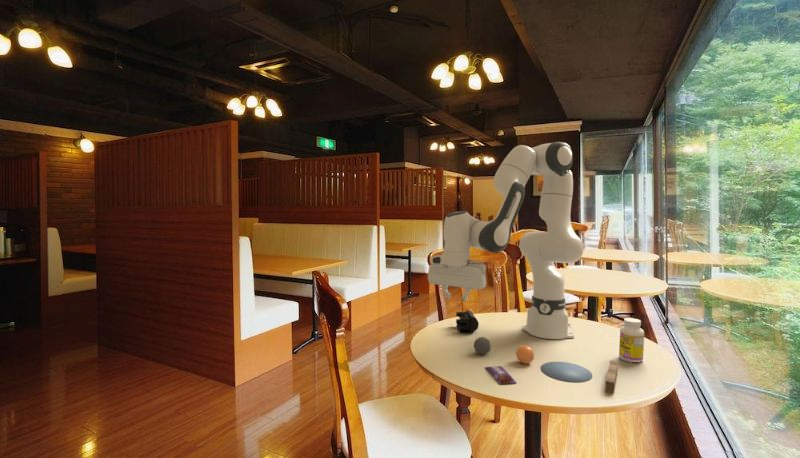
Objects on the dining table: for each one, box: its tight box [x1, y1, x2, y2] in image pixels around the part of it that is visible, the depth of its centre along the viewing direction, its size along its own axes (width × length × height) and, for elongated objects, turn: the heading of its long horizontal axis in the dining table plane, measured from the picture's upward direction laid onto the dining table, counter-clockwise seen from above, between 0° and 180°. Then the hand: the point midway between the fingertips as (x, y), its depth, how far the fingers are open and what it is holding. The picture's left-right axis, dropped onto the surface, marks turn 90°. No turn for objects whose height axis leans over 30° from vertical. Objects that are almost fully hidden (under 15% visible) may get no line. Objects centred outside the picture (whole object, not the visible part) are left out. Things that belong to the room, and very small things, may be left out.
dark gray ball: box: [473, 336, 492, 356], centre depth 131 cm, size 6×6×6 cm
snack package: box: [484, 365, 517, 385], centre depth 114 cm, size 12×2×5 cm
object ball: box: [515, 344, 535, 365], centre depth 123 cm, size 6×6×6 cm
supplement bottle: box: [618, 317, 645, 363], centre depth 126 cm, size 7×7×13 cm
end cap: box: [455, 309, 480, 335], centre depth 156 cm, size 10×7×7 cm
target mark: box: [540, 361, 593, 383], centre depth 117 cm, size 14×14×1 cm
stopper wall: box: [604, 360, 619, 394], centre depth 111 cm, size 16×2×3 cm, turn 148°
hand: (456, 299), depth 135 cm, fingers open, 5 cm apart
